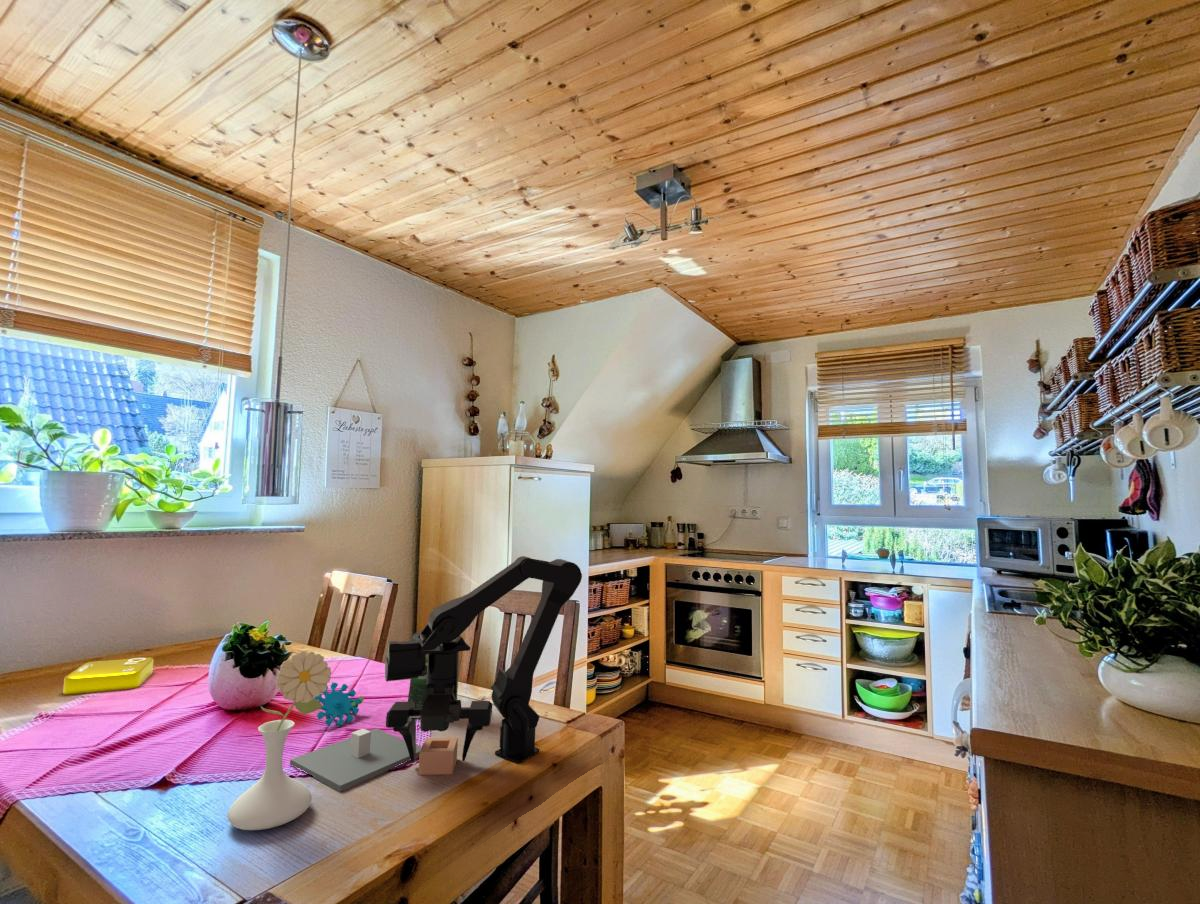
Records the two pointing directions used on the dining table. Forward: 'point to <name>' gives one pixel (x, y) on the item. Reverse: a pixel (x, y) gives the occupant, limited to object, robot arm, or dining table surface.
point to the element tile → (108, 675)
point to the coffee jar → (418, 684)
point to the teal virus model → (338, 704)
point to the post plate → (355, 758)
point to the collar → (438, 756)
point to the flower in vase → (275, 790)
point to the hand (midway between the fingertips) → (438, 761)
